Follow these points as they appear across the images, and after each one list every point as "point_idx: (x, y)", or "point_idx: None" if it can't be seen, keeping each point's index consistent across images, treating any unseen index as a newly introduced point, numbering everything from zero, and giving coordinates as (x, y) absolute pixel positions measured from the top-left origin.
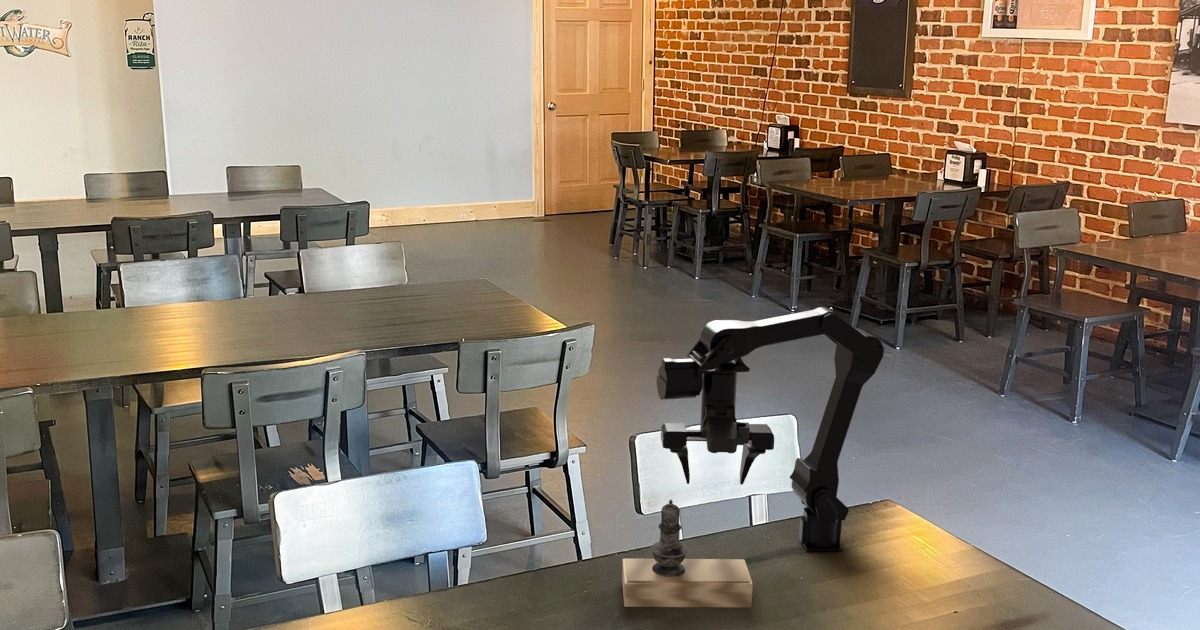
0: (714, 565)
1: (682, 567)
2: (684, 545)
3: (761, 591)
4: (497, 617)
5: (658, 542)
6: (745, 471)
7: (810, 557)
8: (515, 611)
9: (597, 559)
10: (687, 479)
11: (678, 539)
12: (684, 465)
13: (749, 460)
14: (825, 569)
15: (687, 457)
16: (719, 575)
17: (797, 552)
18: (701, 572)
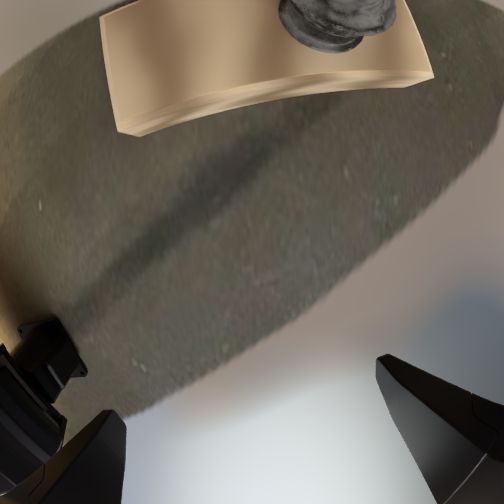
0: (197, 55)
1: (287, 11)
2: (301, 3)
3: (100, 109)
4: (489, 8)
5: (386, 22)
6: (66, 454)
7: (46, 296)
8: (484, 16)
9: (454, 177)
10: (399, 365)
11: None
12: (471, 407)
13: (26, 496)
14: (17, 254)
15: (497, 454)
16: (179, 12)
17: (69, 312)
18: (231, 13)
